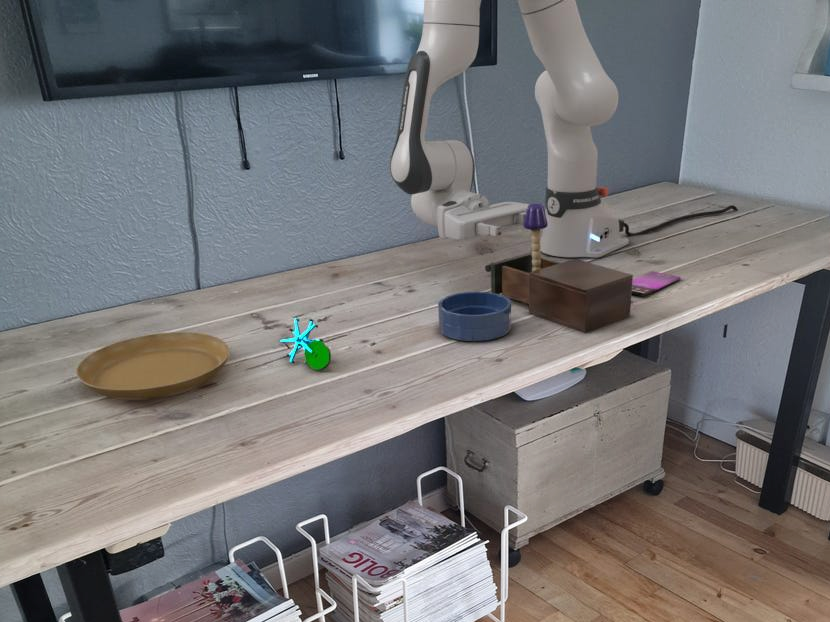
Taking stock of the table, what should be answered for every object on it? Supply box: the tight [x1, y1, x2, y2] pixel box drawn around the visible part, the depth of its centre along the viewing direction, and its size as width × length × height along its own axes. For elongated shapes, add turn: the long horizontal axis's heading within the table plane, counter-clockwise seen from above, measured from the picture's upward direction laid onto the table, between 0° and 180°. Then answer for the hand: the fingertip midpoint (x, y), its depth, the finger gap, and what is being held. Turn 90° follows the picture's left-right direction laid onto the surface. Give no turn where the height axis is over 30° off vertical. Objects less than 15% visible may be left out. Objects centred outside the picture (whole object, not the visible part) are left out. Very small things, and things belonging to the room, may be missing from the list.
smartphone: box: [631, 270, 681, 297], centre depth 182 cm, size 7×15×1 cm, turn 140°
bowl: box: [437, 291, 512, 342], centre depth 161 cm, size 13×13×5 cm
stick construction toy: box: [279, 317, 332, 371], centre depth 150 cm, size 12×7×8 cm
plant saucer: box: [75, 331, 230, 401], centre depth 145 cm, size 24×24×3 cm
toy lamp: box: [523, 203, 548, 271], centre depth 170 cm, size 5×5×17 cm
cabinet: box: [528, 258, 634, 334], centre depth 166 cm, size 15×13×8 cm
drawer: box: [484, 251, 561, 305], centre depth 175 cm, size 18×11×6 cm, turn 41°
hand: (516, 227), depth 173 cm, fingers open, 8 cm apart
